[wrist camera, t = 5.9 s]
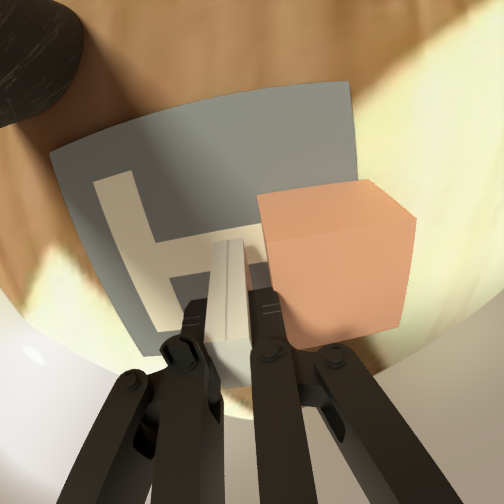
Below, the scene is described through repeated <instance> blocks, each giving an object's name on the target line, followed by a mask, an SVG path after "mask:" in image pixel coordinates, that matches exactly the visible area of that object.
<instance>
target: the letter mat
mask: <svg viewBox="0 0 504 504" xmlns="http://www.w3.org/2000/svg"><path fill="white" fill-rule="evenodd" d="M49 156H50V159H51V162H52V165H53V169H54V172H55V175H56V178H57V181H58V183H59V186H60V189H61V192H62V195H63V197H64V200H65V203H66V205H67V208H68V211H69V213H70V216H71V218H72V221H73V223H74V225H75V228H76V230H77V233H78V235H79V237H80V240H81V242H82V244H83V246H84V248H85V251H86V253H87V255H88V257H89V259H90V261H91V264H92V266H93V268H94V270H95V272H96V274H97V276H98V278H99V280H100V282H101V284H102V286H103V288H104V290H105V292H106V293H107V295H108V297H109V299H110V301H111V303H112V305H113V306H114V308H115V310H116V312H117V314H118V315H119V317H120V319H121V321H122V322H123V324H124V326H125V328H126V329H127V331H128V333H129V334H130V336H131V338H132V339H133V341H134V343H135V344H136V346H137V347H138V349H139V351H140V352H141V354H142V355H143V357H145V356H160V355H162V354H161V352H160V351H159V350H160V347H161V345H162V344H163V343H164V342H165V341H166V340H167V339H168V338H170V337H172V336H174V335H178V334H180V333H181V327H182V321H183V315H184V310H185V308H186V306H187V305H188V303H189V302H190V301H191V300H195V299H202V298H208V291H209V281H210V272H211V263H212V254H213V245H214V242H219V241H225V240H231V239H236V238H242V237H243V242H244V247H245V251H246V256H247V261H248V266H249V271H250V276H251V281H252V290H255V289H261V288H267V287H271V281H270V274H269V268H268V262H267V256H266V249H265V243H264V237H263V231H262V225H261V219H260V213H259V207H258V201H257V195H259V194H265V193H271V192H278V191H284V190H291V189H297V188H304V187H311V186H318V185H325V184H333V183H341V182H349V181H357V161H356V146H355V134H354V123H353V113H352V104H351V96H350V88H349V81H335V82H319V83H307V84H297V85H287V86H279V87H272V88H264V89H258V90H252V91H246V92H240V93H234V94H229V95H224V96H219V97H214V98H210V99H205V100H201V101H196V102H192V103H188V104H184V105H180V106H176V107H173V108H169V109H165V110H162V111H158V112H155V113H152V114H148V115H145V116H142V117H139V118H136V119H133V120H130V121H127V122H124V123H121V124H118V125H115V126H112V127H110V128H107V129H104V130H102V131H99V132H96V133H94V134H91V135H89V136H86V137H84V138H81V139H79V140H77V141H74V142H72V143H70V144H67V145H65V146H63V147H61V148H58V149H56V150H54V151H52V152H50V153H49Z"/></svg>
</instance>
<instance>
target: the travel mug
mask: <svg viewBox="0 0 504 504" xmlns="http://www.w3.org/2000/svg"><path fill="white" fill-rule="evenodd" d="M82 47H83V34H82V28H81V24H80V22H79V19H78V18H77V16H76V15H75V13H74V12H73V11H72V10H71V9H69V8H68V7H67V6H65V5H63V4H60V3H58V2H56V1H54V0H0V128H2V127H5V126H7V125H10V124H13V123H16V122H18V121H21V120H24V119H27V118H30V117H32V116H35V115H37V114H39V113H42V112H43V111H45V110H46V109H48V108H49V107H50V106H52V105H53V104H54V103H55V102H56V101H57V100H58V99H59V98H60V97H61V96H62V94H63V93H64V92H65V91H66V89H67V88H68V86H69V85H70V83H71V81H72V79H73V77H74V75H75V73H76V70H77V68H78V65H79V62H80V58H81V54H82Z"/></svg>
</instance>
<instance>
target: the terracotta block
mask: <svg viewBox="0 0 504 504" xmlns="http://www.w3.org/2000/svg"><path fill="white" fill-rule="evenodd" d="M257 201H258V207H259V213H260V219H261V225H262V231H263V237H264V243H265V249H266V256H267V262H268V268H269V274H270V281H271V287H272V288H273V290H274V291H276V292H277V293H278V295H279V300H280V305H281V310H282V315H283V320H284V325H285V330H286V335H287V339H288V342H289V343H290V344H291V345H292V346H293V347H294V348H296V349H298V350H300V349H306V348H311V347H316V346H321V345H326V344H331V343H335V342H340V341H344V340H349V339H353V338H357V337H361V336H366V335H370V334H374V333H377V332H381V331H385V330H389V329H393V328H396V327H399V323H400V318H401V314H402V309H403V305H404V300H405V295H406V290H407V284H408V279H409V273H410V267H411V260H412V253H413V246H414V238H415V229H416V218H415V217H414V216H413V215H412V214H411V213H409V212H408V211H407V210H406V209H405V208H404V207H402V206H401V205H400V204H399V203H398V202H396V201H395V200H394V199H393V198H392V197H390V196H389V195H388V194H387V193H385V192H384V191H383V190H382V189H380V188H379V187H378V186H376V185H375V184H374V183H373V182H371V181H370V180H369V179H365V180H357V181H349V182H341V183H333V184H325V185H318V186H311V187H304V188H297V189H291V190H284V191H278V192H271V193H265V194H259V195H257Z"/></svg>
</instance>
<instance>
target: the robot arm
mask: <svg viewBox="0 0 504 504" xmlns="http://www.w3.org/2000/svg"><path fill="white" fill-rule="evenodd" d="M159 351H160V352H161V354H162V356H163V358H164V359H165V361H166V363H167V365H168V367H166V368H165V369H163V370H160V371H158V372H155V373H152V374H149V375H146V374H145V372H144V371H141V370H139V369H131V370H128V371H126V372H124V373H123V374H121V375H120V376H119V378H118V379H117V380H116V382H115V384H114V386H113V388H112V389H111V391H110V393H109V395H108V397H107V399H106V401H105V403H104V405H103V406H102V409H101V410H100V412H99V414H98V416H97V418H96V420H95V422H94V424H93V426H92V428H91V430H90V432H89V434H88V436H87V438H86V440H85V442H84V444H83V446H82V448H81V450H80V452H79V454H78V456H77V459H76V461H75V463H74V465H73V467H72V469H71V471H70V473H69V476H68V478H67V480H66V482H65V484H64V487H63V489H62V491H61V494H60V496H59V498H58V500H57V503H56V504H145V501H146V498H147V495H148V492H149V490H150V487H151V484H152V492H151V504H225V486H224V401H223V397H222V395H221V392H220V388H221V384H222V387H223V389H227V388H236V387H245V386H252V400H253V414H254V428H255V442H256V454H257V469H258V482H259V495H260V504H318V501H317V495H316V489H315V483H314V477H313V471H312V465H311V460H310V454H309V448H308V442H307V437H306V431H305V426H304V420H303V415H302V409H301V406H311V407H316V408H317V410H318V411H319V413H320V415H321V417H322V419H323V421H324V422H325V424H326V426H327V428H328V430H329V431H330V433H331V435H332V437H333V438H334V440H335V442H336V444H337V446H338V447H339V449H340V451H341V453H342V454H343V456H344V458H345V460H346V461H347V463H348V465H349V467H350V469H351V470H352V472H353V474H354V476H355V477H356V479H357V481H358V483H359V484H360V486H361V488H362V490H363V491H364V493H365V495H366V497H367V498H368V500H369V502H370V503H371V504H463V502H462V501H461V499H460V498H459V496H458V495H457V493H456V492H455V490H454V489H453V487H452V486H451V485H450V483H449V482H448V480H447V479H446V477H445V476H444V474H443V473H442V472H441V470H440V469H439V468H438V466H437V465H436V463H435V462H434V460H433V459H432V457H431V456H430V455H429V453H428V452H427V450H426V449H425V448H424V446H423V445H422V443H421V442H420V441H419V439H418V438H417V436H416V435H415V434H414V432H413V431H412V429H411V428H410V427H409V425H408V424H407V423H406V421H405V420H404V418H403V417H402V416H401V414H400V413H399V411H398V410H397V409H396V407H395V406H394V405H393V403H392V402H391V401H390V399H389V398H388V396H387V395H386V394H385V392H384V391H383V390H382V388H381V387H380V386H379V384H378V383H377V382H376V380H375V379H374V378H373V376H372V375H371V374H370V372H369V371H368V370H367V368H366V367H365V366H364V364H363V363H362V362H361V360H360V359H359V358H358V356H357V355H356V354H355V352H354V351H353V350H352V349H351V348H350V347H348V346H346V345H343V344H338V343H333V344H329V345H325V346H324V347H322V348H320V349H319V350H318V352H306V351H301V350H298V349H296V348H294V347H293V346H292V345H291V344H290V343H289V342H288V339H287V335H286V330H285V325H284V320H283V315H282V310H281V305H280V300H279V295H278V293H277V292H276V291H274V290H273V288H272V287H267V288H261V289H255V290H252V281H251V276H250V271H249V266H248V261H247V256H246V251H245V247H244V242H243V237H242V238H236V239H231V240H225V241H219V242H214V245H213V254H212V263H211V272H210V281H209V291H208V298H202V299H195V300H191V301H190V302H189V303H188V305H187V306H186V308H185V310H184V315H183V321H182V327H181V333H180V334H178V335H174V336H172V337H170V338H168V339H167V340H166V341H165V342H164V343H163V344H162V345H161V347H160V350H159Z"/></svg>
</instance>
